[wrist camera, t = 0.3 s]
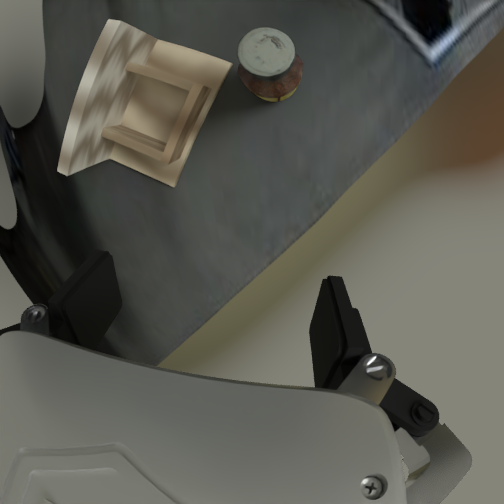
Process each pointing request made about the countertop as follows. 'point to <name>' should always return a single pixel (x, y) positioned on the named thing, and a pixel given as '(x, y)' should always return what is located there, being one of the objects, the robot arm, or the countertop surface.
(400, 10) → the countertop surface
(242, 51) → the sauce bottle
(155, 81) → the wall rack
